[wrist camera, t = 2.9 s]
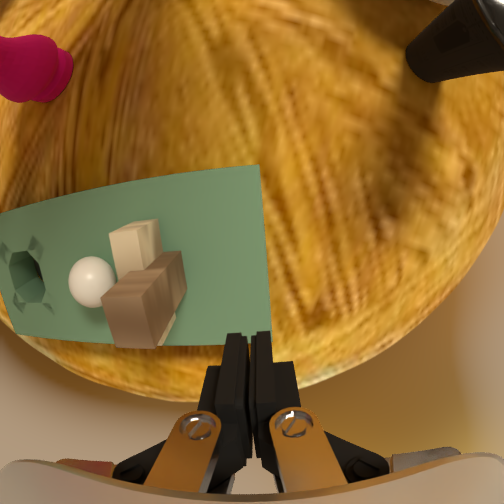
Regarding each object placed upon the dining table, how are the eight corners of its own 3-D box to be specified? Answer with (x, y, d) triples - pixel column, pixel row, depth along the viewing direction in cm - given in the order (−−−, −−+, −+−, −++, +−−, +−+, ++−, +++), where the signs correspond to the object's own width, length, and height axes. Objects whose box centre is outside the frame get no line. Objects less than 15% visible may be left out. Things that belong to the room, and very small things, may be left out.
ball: (80, 252, 21) (53, 267, 17) (118, 248, 21) (93, 263, 17) (91, 295, 22) (67, 316, 18) (128, 294, 22) (108, 317, 18)
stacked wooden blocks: (133, 221, 20) (73, 251, 12) (176, 216, 20) (130, 245, 12) (153, 318, 22) (115, 380, 14) (192, 317, 22) (166, 384, 14)
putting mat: (8, 211, 25) (-17, 218, 20) (258, 165, 24) (259, 164, 19) (35, 317, 28) (16, 333, 24) (270, 315, 27) (272, 341, 23)
